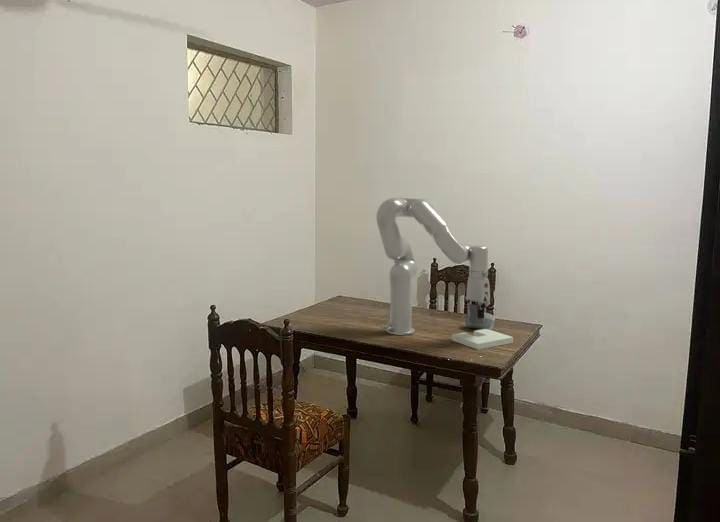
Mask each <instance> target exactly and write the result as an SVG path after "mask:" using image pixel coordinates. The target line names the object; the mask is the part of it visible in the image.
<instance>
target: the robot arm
mask: <svg viewBox="0 0 720 522" xmlns="http://www.w3.org/2000/svg"><path fill="white" fill-rule="evenodd" d="M376 212H377V213H376V215H375V216H376V217H375V218H376V225H377V228H378V231H379V234H380V239H381V242H382V245H383V246H382V247H383V249H384V253H385V255H386V257H387V258H388V259H390V260H392V261H393V262H394V265H392V267H391V268H390V270H389V286H390V287H389V288H390V292H389V293H390V294H389V295H390V302H389V303H390V304H389V305H390V307H389V321H387V323H386V324H382V325H380V329H381V330H385V331H386V332H387V333H388V334H390V335H394V336H395V335H396V336H406V335H407V336H409V335H412V334H414V333H415V328H414V327H412V306H413V305H412V303H413V300H412V299H413V298H412V297H413V296H412V295H413V292H412V291H413V287H412V279H414V278H415V277H416V275H417V272H418V270H417V269H418V267H417V264H416V260H415V257H414V254H413V249H412V247H411V244H410V243H409V241H408V240H407V239H406V238H405V237H402V236H401V233H400V229H399V226H398V223H397V222H396V219H397V218H399V217H402V218H404V217H405V218H414V219H415V220H416V222H417V223H418V224H419V225H420V226H421V227H422V228H423V229H424V230H425V231H426V233H428V234H429V235H430V237H431V238H432V240H433V241H434V243H435V244H436V247H438V248H439V249H440V251H441V252H442V253H443V254H444V255H445V256H446V257H447V258H448V259H449V260H450V262H452V263H454V264H456V265H460V264H464V263H465V262H469V267H468V268H469V269H468V277H467V284H466V296H465V297H464V298H465V299H464V300H466V301H467V303H468V307H469V308H470V304H474V303H479V309H478V318H479V319H480V318H484V312H485V310H486V308H487V307H488V306H489V305H491V288H490V287H491V286H490V281H489V278H488V276H489V274H488V263H489V249H488V247H487V246H485V245H479V244H477V245H469V244H463V243H461V244H460V243H459V242H458V241H457V240H456V238H454V237H453V234H451V232H450V230H449V228H448V224H447V223H446V221H445V220H444V219H443V218H442V217H441V215H439V213H437V211H435V209H434V207H433V204H432V203H431V201H430V200H428V199H424V198H408V197H391V198H387V199H386V200H384V201H383V202H382V203H381V204H380V206H379V207H378V209H377V211H376ZM482 304H483V305H482Z"/></svg>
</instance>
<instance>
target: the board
mask: <svg viewBox="0 0 720 522" xmlns="http://www.w3.org/2000/svg"><path fill="white" fill-rule="evenodd" d="M451 341H453V342H456V343H459V344H460V345H464V346H467V347H470V348H472V349H475V350H483V349H489V348H492V347H493V348H494V347H497V346H498V347H500V346H502V345H509V344H513V343H514V337H513V336H511V335H508V334H505V333H502V332H498V331H495V330H493V329H491V330H488V329H482V330H481V329H476V330H473V334H471V333H468V332H459V333H455V334H451Z"/></svg>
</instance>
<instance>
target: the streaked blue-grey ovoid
mask: <svg viewBox="0 0 720 522" xmlns="http://www.w3.org/2000/svg"><path fill="white" fill-rule="evenodd" d="M469 317H470V311H468V312H467V314H466V315H465V326H466V327H468V328H470V329H476V330H482V329H488V330H493V328H494V325H495V321H496V318H495V316H494V315H493V314H491V313H488V312H485V311H484V318H483V323H480V324H473V323H470V322H469Z"/></svg>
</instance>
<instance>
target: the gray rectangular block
mask: <svg viewBox="0 0 720 522" xmlns="http://www.w3.org/2000/svg"><path fill="white" fill-rule="evenodd" d="M481 304H482V303H481ZM482 305H483V304H482ZM478 309H479V303H478V302H476V303H474V304H470V307H469V312H470V317H469V322H470V323H473V324H480V323H483V318H480V319H479V318H478Z"/></svg>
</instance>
